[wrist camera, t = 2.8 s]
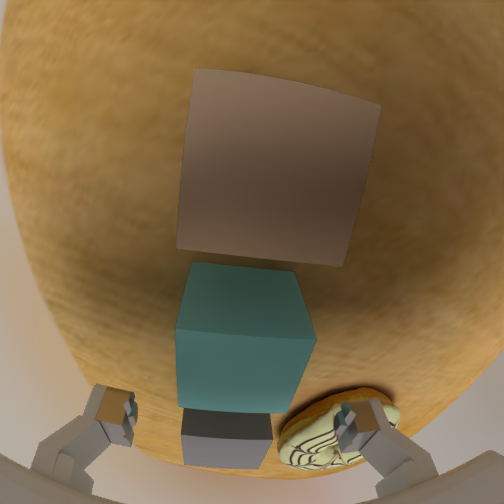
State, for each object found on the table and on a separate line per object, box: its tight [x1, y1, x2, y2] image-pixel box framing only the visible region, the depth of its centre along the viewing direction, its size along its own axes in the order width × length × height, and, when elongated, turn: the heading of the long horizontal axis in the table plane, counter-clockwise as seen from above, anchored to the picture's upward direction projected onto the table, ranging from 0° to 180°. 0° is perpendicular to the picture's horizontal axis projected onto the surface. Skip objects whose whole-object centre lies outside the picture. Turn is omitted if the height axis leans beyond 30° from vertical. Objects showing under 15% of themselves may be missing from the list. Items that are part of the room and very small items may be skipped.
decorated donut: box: [277, 387, 401, 471], centre depth 20 cm, size 10×11×4 cm
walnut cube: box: [176, 68, 382, 267], centre depth 10 cm, size 5×5×5 cm
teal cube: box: [175, 261, 317, 413], centre depth 13 cm, size 5×5×5 cm
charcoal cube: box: [181, 408, 273, 469], centre depth 16 cm, size 5×5×5 cm
